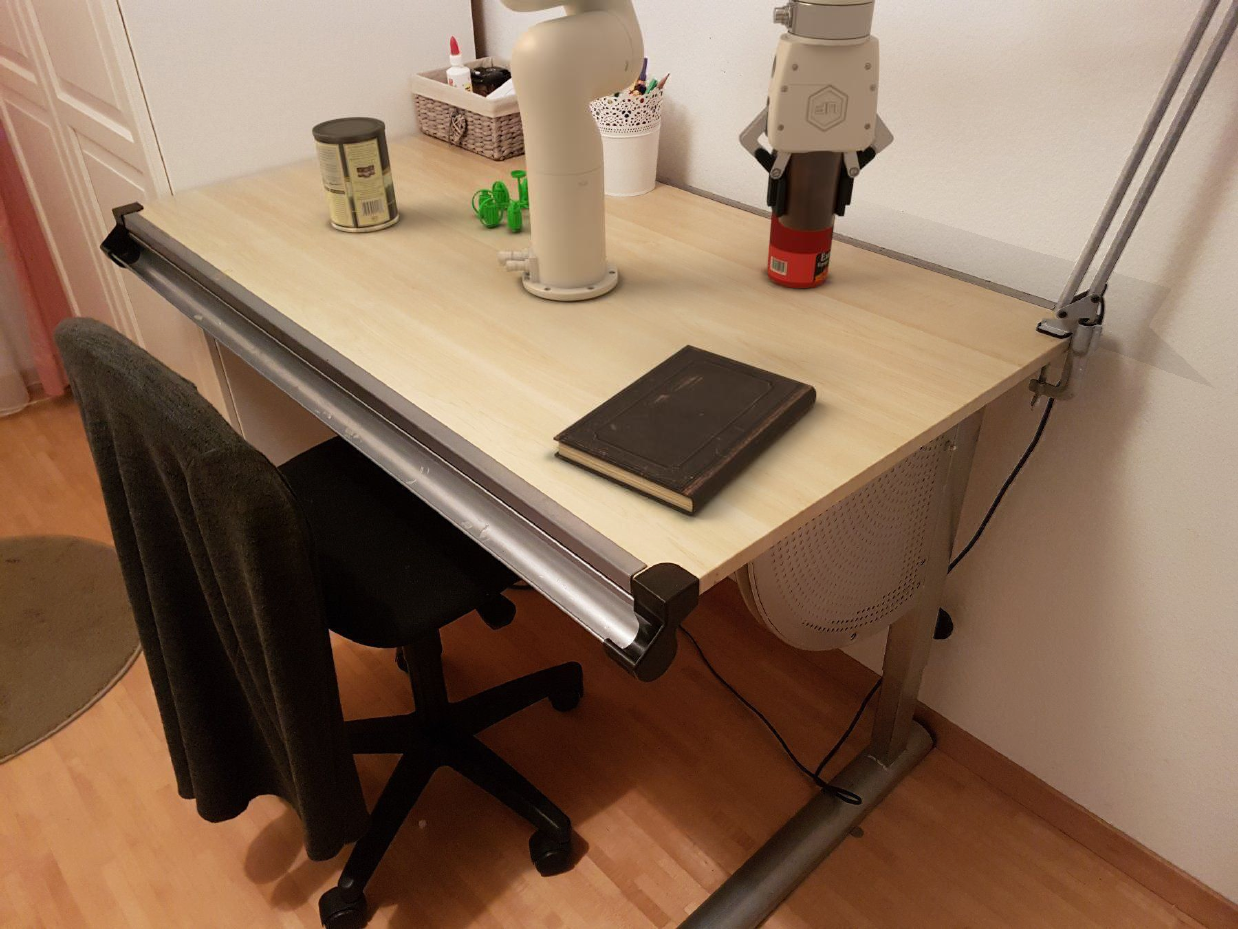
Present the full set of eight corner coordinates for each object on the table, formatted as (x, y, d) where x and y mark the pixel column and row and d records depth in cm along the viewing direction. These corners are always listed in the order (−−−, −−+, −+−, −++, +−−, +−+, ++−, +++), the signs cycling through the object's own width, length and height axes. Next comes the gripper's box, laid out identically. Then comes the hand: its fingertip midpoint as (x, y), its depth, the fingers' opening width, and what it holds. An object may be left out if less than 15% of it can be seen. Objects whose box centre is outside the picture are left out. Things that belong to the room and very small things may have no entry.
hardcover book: (554, 456, 88) (553, 436, 87) (687, 362, 103) (687, 344, 102) (693, 518, 80) (694, 497, 79) (815, 406, 95) (817, 387, 94)
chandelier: (576, 201, 146) (574, 157, 142) (563, 236, 134) (561, 190, 130) (483, 199, 148) (479, 156, 144) (462, 234, 135) (457, 188, 131)
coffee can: (365, 204, 146) (349, 112, 138) (413, 216, 142) (399, 122, 134) (316, 224, 139) (296, 129, 131) (364, 237, 135) (347, 140, 127)
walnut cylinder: (784, 231, 93) (792, 152, 88) (774, 211, 97) (782, 135, 93) (839, 231, 93) (850, 151, 88) (826, 211, 98) (837, 134, 93)
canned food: (826, 291, 118) (837, 207, 112) (764, 286, 119) (771, 204, 113) (827, 267, 124) (837, 187, 118) (768, 263, 125) (775, 183, 119)
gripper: (742, 29, 81) (728, 227, 91) (935, 27, 81) (899, 224, 92) (731, 13, 87) (719, 200, 97) (910, 12, 87) (879, 198, 98)
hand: (807, 210), depth 95 cm, fingers closed on walnut cylinder, 5 cm apart
